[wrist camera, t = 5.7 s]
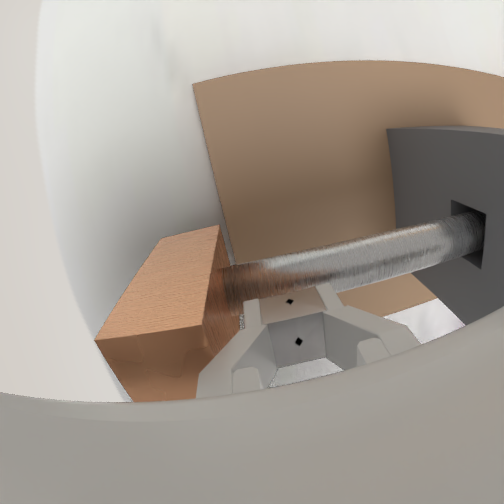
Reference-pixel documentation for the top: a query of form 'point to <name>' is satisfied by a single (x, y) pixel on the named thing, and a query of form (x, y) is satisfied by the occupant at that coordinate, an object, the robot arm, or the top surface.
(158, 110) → the top surface
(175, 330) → the shaft
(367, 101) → the bearing stand
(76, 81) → the top surface
